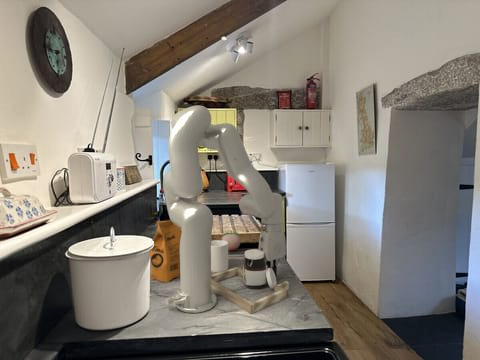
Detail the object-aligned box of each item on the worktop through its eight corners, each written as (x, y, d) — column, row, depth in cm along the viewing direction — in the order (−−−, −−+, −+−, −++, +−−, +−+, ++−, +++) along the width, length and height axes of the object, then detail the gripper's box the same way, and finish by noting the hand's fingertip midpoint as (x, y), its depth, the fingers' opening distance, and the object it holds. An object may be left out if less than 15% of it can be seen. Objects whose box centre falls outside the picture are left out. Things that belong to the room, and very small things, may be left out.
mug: (235, 263, 122) (234, 239, 121) (222, 274, 111) (222, 247, 110) (217, 261, 125) (216, 237, 124) (203, 271, 114) (202, 244, 113)
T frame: (250, 314, 83) (250, 305, 83) (204, 284, 103) (204, 277, 102) (296, 292, 96) (296, 285, 95) (247, 269, 115) (247, 263, 115)
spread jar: (241, 279, 107) (241, 248, 106) (270, 276, 109) (270, 246, 108) (247, 294, 95) (247, 260, 94) (280, 291, 97) (280, 257, 96)
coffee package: (146, 279, 107) (144, 221, 105) (169, 267, 118) (167, 215, 116) (166, 284, 103) (164, 224, 101) (188, 272, 113) (187, 217, 112)
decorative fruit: (223, 254, 133) (223, 233, 132) (220, 249, 141) (220, 229, 140) (243, 253, 135) (242, 232, 135) (239, 247, 143) (239, 228, 143)
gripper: (264, 232, 97) (264, 285, 98) (293, 225, 106) (293, 273, 108) (249, 228, 103) (249, 278, 104) (278, 222, 112) (278, 268, 114)
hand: (271, 275), depth 106 cm, fingers closed
